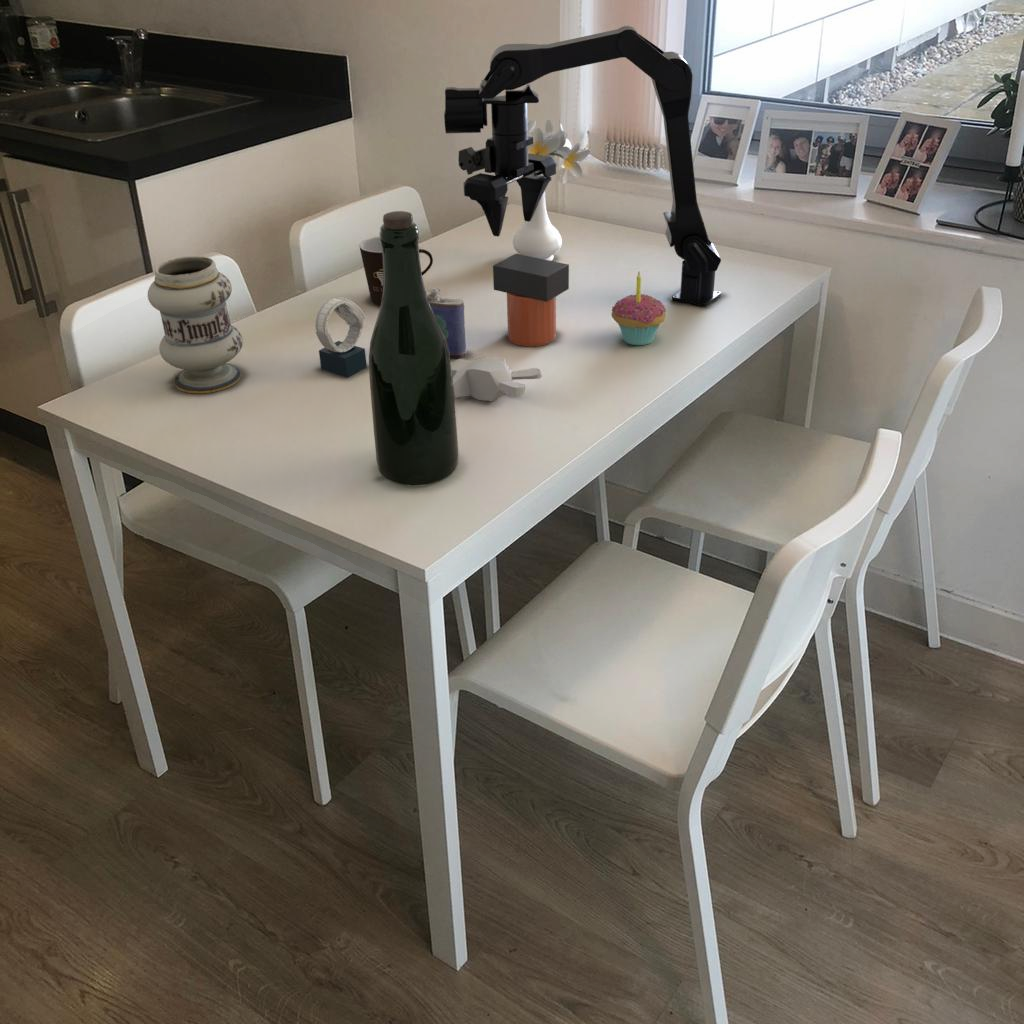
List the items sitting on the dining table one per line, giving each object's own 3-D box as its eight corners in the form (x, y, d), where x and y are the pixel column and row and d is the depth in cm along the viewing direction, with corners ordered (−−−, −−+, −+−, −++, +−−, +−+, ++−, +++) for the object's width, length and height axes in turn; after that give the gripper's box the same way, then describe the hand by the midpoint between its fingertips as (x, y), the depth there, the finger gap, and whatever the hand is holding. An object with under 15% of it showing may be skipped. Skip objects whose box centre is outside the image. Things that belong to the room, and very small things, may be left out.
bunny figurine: (453, 348, 160) (544, 353, 154) (459, 379, 163) (548, 386, 156) (422, 373, 153) (516, 379, 146) (428, 405, 156) (520, 413, 149)
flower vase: (566, 277, 196) (567, 136, 182) (482, 261, 204) (477, 125, 191) (600, 256, 205) (603, 120, 192) (518, 241, 213) (516, 110, 200)
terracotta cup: (525, 324, 178) (524, 277, 174) (564, 333, 174) (564, 286, 170) (498, 340, 172) (497, 292, 168) (538, 350, 169) (538, 302, 164)
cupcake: (661, 351, 167) (666, 277, 161) (607, 348, 169) (609, 275, 162) (666, 330, 174) (670, 258, 168) (614, 327, 176) (616, 256, 169)
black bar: (516, 277, 174) (515, 253, 172) (568, 289, 169) (569, 264, 167) (493, 289, 169) (492, 265, 167) (546, 301, 164) (546, 276, 162)
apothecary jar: (161, 371, 165) (136, 258, 156) (239, 357, 169) (220, 245, 159) (173, 403, 156) (147, 284, 146) (255, 387, 160) (236, 270, 150)
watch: (375, 362, 166) (368, 295, 160) (339, 381, 161) (330, 312, 155) (348, 354, 169) (341, 288, 163) (312, 373, 164) (303, 304, 158)
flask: (469, 353, 168) (465, 288, 163) (461, 360, 166) (457, 294, 160) (416, 346, 171) (410, 281, 166) (407, 353, 169) (402, 288, 163)
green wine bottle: (396, 444, 144) (372, 197, 126) (470, 453, 141) (456, 203, 123) (364, 483, 135) (335, 224, 118) (443, 493, 133) (424, 231, 115)
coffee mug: (355, 305, 187) (350, 249, 181) (379, 288, 193) (374, 234, 188) (415, 313, 183) (411, 256, 177) (437, 296, 190) (434, 240, 184)
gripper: (502, 114, 181) (504, 206, 190) (433, 138, 168) (439, 236, 177) (557, 122, 176) (557, 216, 184) (491, 146, 163) (495, 247, 171)
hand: (512, 228), depth 179 cm, fingers open, 9 cm apart
